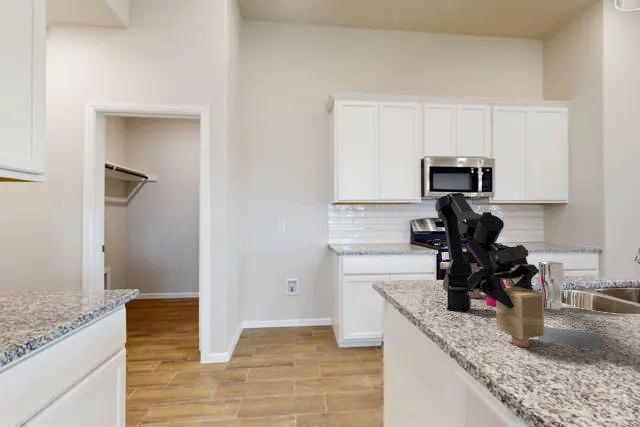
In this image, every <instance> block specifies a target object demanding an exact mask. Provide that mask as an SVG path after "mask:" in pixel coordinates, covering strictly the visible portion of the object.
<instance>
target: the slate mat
mask: <svg viewBox="0 0 640 427" xmlns="http://www.w3.org/2000/svg"><path fill="white" fill-rule="evenodd" d="M537 341H544V342H549V343H556V344H562V345H567V346H568V345H569V346H572V347H573V346H574V347H581V348H587V349H594V350H600V351H607V349H606V347H605V345H604V343H603V340H602V338H601V336H600V334H599V333H593V332H585V331H580V330H571V329H563V328H557V327H550V326H544V335H543V336H537Z"/></svg>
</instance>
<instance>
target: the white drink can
mask: <svg viewBox="0 0 640 427" xmlns="http://www.w3.org/2000/svg"><path fill="white" fill-rule="evenodd" d="M537 269H538V270H539V272H538V273H537V274H538V282H539V288H540V292H542V293H543V303H544V310H548V309H549V311H551V310H552V311H553V310H555V311H563V310H564V307H563V302H562V293H563V288H564V282H565V280H564V279H565V275H564V265H563V263H562V262H559V261H539V262H538V268H537Z"/></svg>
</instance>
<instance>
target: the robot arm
mask: <svg viewBox="0 0 640 427" xmlns="http://www.w3.org/2000/svg"><path fill="white" fill-rule="evenodd" d="M434 206H435V212H437V216H438V217H437V218H439V219H440V221H441V222H442V223H443V225H444V227H443V228H444V232H445V239H446V246H447V251H448V252H447V253H448V259H449V264H448V265H447V267H446V270H445V275H444V278H443V281H442V289H443V291H446V294H447V295H446V296H447V307H446V310H447V311H452V312H453V311H454V312H460V313H462V312H463V313H468V312H469V311H470V310H471V308H472V299H471V296H470V295H469V292H473V291H474V290H479V292H481V293H483V294H484V295H485V294H487V295H488V296H490V297H492V298H494V299H495V300H497V301H499V302H500V303H502V304H503V305H505V306H507V307H508V308H510V309H512V308H513V307H514V305H513V303H512V301H511V300H510V298H509V297H508V295H507V293H506V292H505V290H504V289H503V287H502V286H501V280H503V281H506V280H508V279H510V280H511V281H512V282H513V283H514V284H515V285H514V286H513V287H521V288H525V289H529V290H534V287H533V284H532V280H533V278H534V277H535V276H536V275H537V274H538V272H539V270H538V269H539V268H538V267H537V266H536V265H535V264H531V263H528V264H524V265H520V266H519V267H518V268H517V269H516V270H515V271H512V270H511V269H512V268H514V267H515V266H516V264H515V263H516V262H518V261H521V260H526V259H527V257H528V256H529V250H528V249H527V248H526V247H525V246H524V245H523V244H516V246H512V247H506V248H504V249H502V250H501V249H500V250H497V249H498V248H497V247H496V246H495V245H494V244H495V243H497V241H498V239H499V236H500V235H501V233H502V231H503V229H504V226H505V222H504V220H502V218H501V217H498V216H497V215H494V214H493V213H492V212H491V211H483V212H482V213H481V214H480V213H478V212H476V211H474V209H473V208H472V206H470V204H469V203H468V201H467V199H466V197H465V193H462V192H449V193H447V194H446V195H445V196H442V197H440V198H439V197H438V199H437V200H436V201H435V205H434ZM461 238H465V239H466V238H468V239H469V238H470V239H469V240H468V241H467V242H466V248H465V249H466V251H467V252H472V254H473V255H474V257H475V258H476V259H477V261H478V263H477V264H476V265H477V267H478V268H480V269H476V270H475V271H474V272H473V273H472V268H471V265H470V263H467V262H466V261H465V260H464V255H463V249H464V248H463V245H462V239H461ZM495 247H496V248H497V249H496V248H495Z"/></svg>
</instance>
